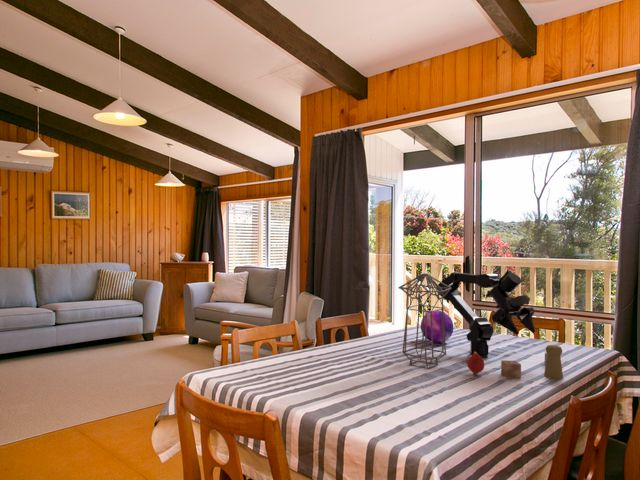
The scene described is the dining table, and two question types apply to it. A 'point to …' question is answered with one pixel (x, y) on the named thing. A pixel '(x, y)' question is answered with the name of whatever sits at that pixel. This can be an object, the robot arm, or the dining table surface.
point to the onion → (475, 363)
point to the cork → (553, 362)
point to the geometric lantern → (425, 317)
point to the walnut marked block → (511, 369)
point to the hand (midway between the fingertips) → (526, 333)
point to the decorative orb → (438, 326)
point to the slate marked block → (545, 357)
